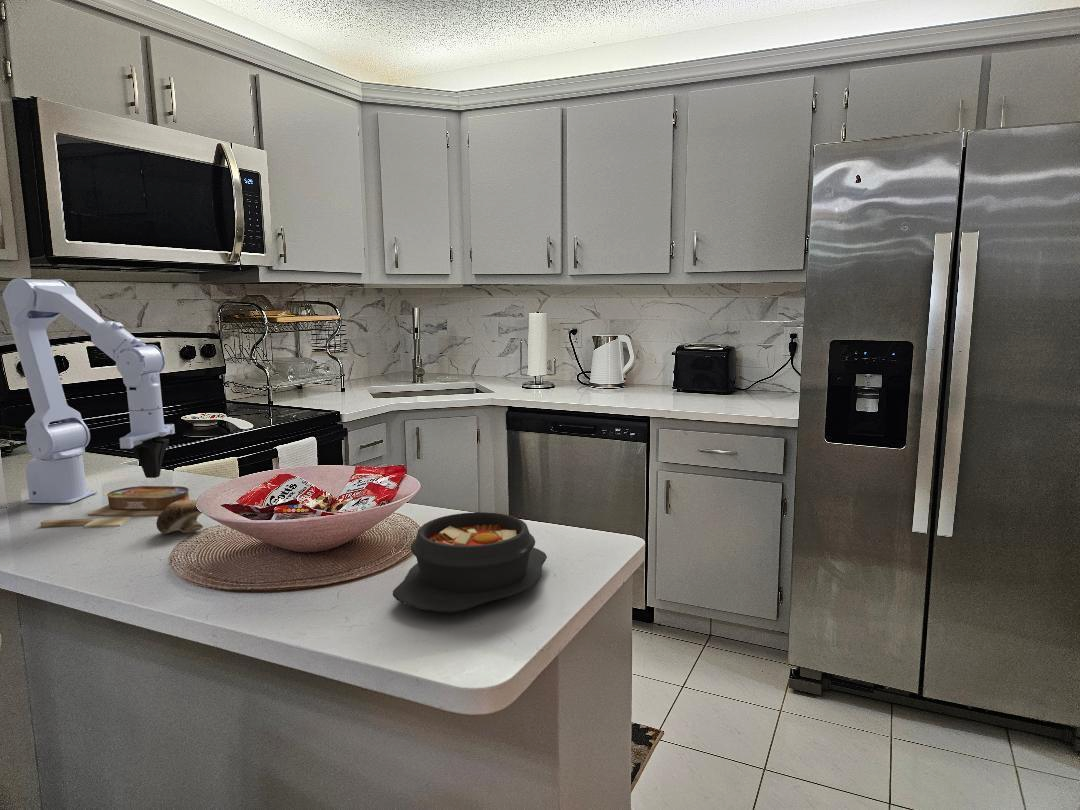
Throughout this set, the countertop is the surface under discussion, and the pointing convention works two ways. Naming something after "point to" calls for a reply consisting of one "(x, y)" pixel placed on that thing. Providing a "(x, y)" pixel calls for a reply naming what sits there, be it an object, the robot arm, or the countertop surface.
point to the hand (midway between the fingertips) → (152, 477)
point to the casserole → (470, 562)
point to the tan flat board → (124, 512)
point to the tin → (146, 497)
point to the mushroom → (179, 517)
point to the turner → (87, 522)
